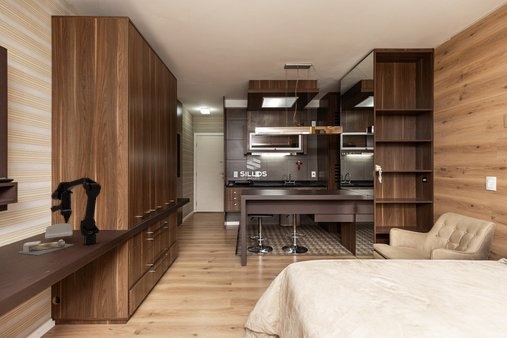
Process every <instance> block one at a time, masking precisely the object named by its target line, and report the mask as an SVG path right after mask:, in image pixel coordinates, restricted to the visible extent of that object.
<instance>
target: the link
mask: <svg viewBox="0 0 507 338" xmlns="http://www.w3.org/2000/svg"><path fill="white" fill-rule="evenodd" d="M65 241H66V240H63V241H62V242H59V241H54V242H53V241H52V242H45V243H40V244H39V245H35V246H33V248H34V251H36V250H43V249H50V248H57V247H64V246H65V244H66V242H65Z"/></svg>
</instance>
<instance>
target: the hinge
mask: <svg viewBox="0 0 507 338" xmlns="http://www.w3.org/2000/svg"><path fill="white" fill-rule="evenodd" d="M73 234H74V232H73V226H72V224H70V223H65V222H64V223H54V224H51V225H48V226H46V228H45V234H44V239H50V238H51V239H53V238H61V237H69V236H73Z"/></svg>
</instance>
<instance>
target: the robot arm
mask: <svg viewBox="0 0 507 338" xmlns="http://www.w3.org/2000/svg"><path fill="white" fill-rule="evenodd" d="M80 186H82V188H83V189H84V190H85V194H86V196H87V200H86V207H85V213H84V214H85V215H84V218H83V219H82V220H80V221H79V223H80V225H79V229H80V233H81V236H83V237H84V242H83V243H82V245H83V246H84V245H85V246H91V245H94V244H98V243H99V241H97V234H99V233H100V229H99V228H98V226H97V223H96V222H97V221H96V220H95V218H94V217H95V212H96V211H95V210H96V204H97V197H99V195H100V193H101V191H102V186H101V184H100V183H99V182H97V181H96V180H93V179H92V178H89V177H80V178H77V179H75V180H71V181H60V182H59V183H58V185H57V187H56V189H54V191H53V192H52V193H51V195H50V196H51V199H52V200H53V201H60V203H59V204H57V205H56V204H54V205H52V207H50V211H51V213H55V212H57V211H59V212H60V216H63V218H64V219H63V220H64V224H69V221H70V218H71V216H72V215H73V211H72V194H74V192H73V191H72V190H74V189H75V188H76V187H80Z"/></svg>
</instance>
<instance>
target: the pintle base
mask: <svg viewBox="0 0 507 338" xmlns="http://www.w3.org/2000/svg"><path fill="white" fill-rule="evenodd" d="M62 241H64V240H63V239H59V240H58V242H62ZM39 244H42V241H41V240H37V241H31V242H25V243H24V244H23V248H22V249H23V250H20V251H16V254H20V255H21V254H22V255H29V256H30V255H31V256H38V257H40V256H43V255H47V254H50V253H53V252H56V251H59V250H64V249H67V248H70V247H73V246H75V245H74V243H72V244H70V243H65V246H64V247H57V248H50V249H43V250H36V251H34V246H35V245H39Z"/></svg>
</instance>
